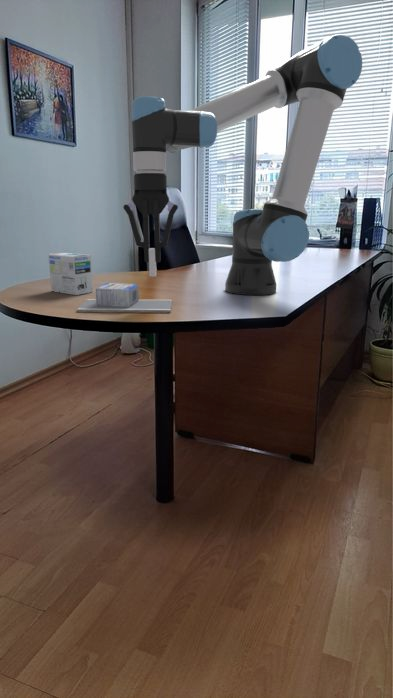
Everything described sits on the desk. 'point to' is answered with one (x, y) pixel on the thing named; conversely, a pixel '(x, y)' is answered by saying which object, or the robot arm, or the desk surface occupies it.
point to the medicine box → (117, 295)
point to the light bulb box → (71, 273)
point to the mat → (137, 307)
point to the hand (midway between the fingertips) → (152, 275)
